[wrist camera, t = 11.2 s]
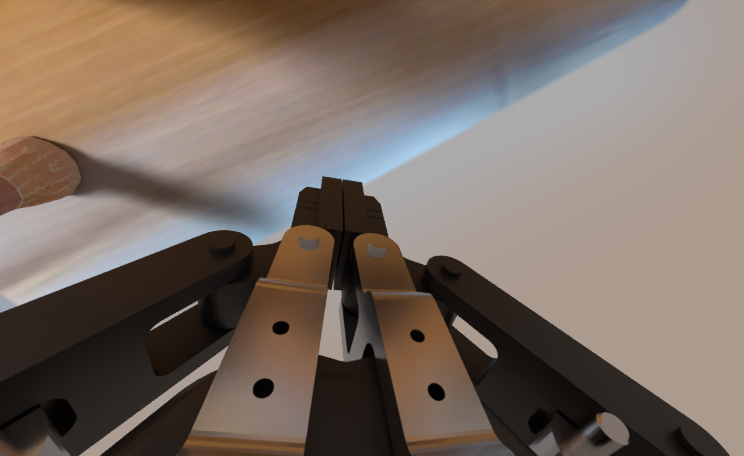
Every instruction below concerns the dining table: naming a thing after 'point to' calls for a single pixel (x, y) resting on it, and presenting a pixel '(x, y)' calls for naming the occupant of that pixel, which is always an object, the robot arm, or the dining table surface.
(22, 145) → the vase
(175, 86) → the dining table surface
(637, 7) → the dining table surface
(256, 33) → the dining table surface
